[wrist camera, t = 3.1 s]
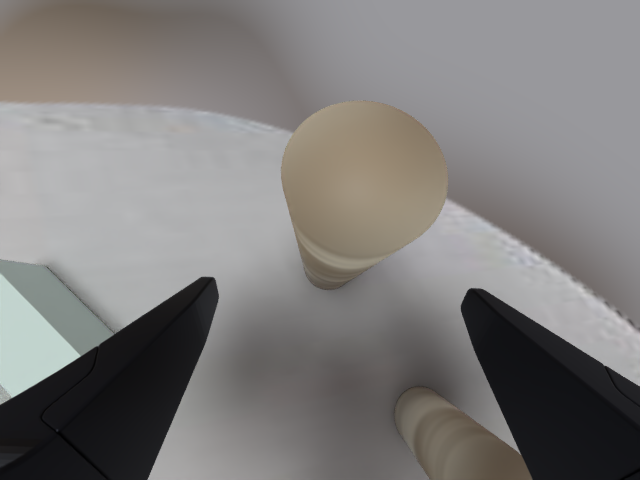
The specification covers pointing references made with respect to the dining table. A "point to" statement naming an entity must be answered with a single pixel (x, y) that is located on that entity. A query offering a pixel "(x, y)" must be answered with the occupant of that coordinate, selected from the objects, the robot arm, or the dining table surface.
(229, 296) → the dining table surface
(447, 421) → the short pin
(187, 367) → the robot arm
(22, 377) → the collar block
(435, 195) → the tall pin
